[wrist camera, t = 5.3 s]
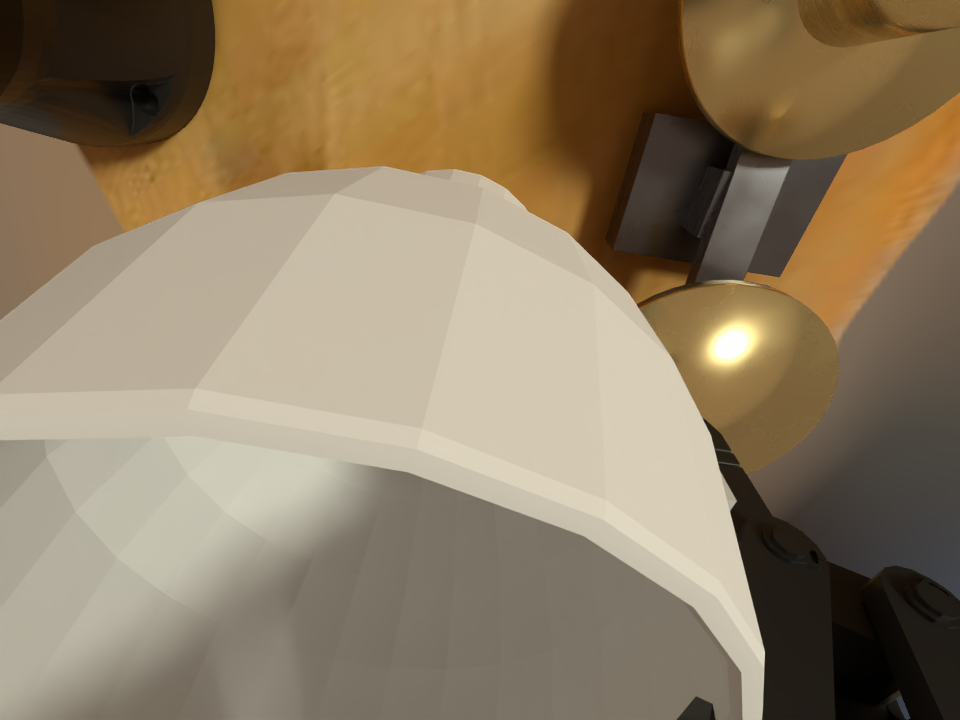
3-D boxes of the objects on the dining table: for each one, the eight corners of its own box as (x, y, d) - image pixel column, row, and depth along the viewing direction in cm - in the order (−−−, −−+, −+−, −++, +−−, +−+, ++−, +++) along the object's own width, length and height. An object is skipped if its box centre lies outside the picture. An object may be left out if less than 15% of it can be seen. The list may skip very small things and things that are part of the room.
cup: (374, 387, 21) (176, 834, 8) (279, 158, 15) (-758, 445, 3) (588, 356, 19) (751, 846, 7) (568, 91, 14) (1273, 28, 1)
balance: (541, 386, 33) (553, 519, 22) (711, -242, 16) (1059, -870, 6) (703, 412, 33) (791, 557, 22) (1030, -187, 17) (1930, -702, 6)
